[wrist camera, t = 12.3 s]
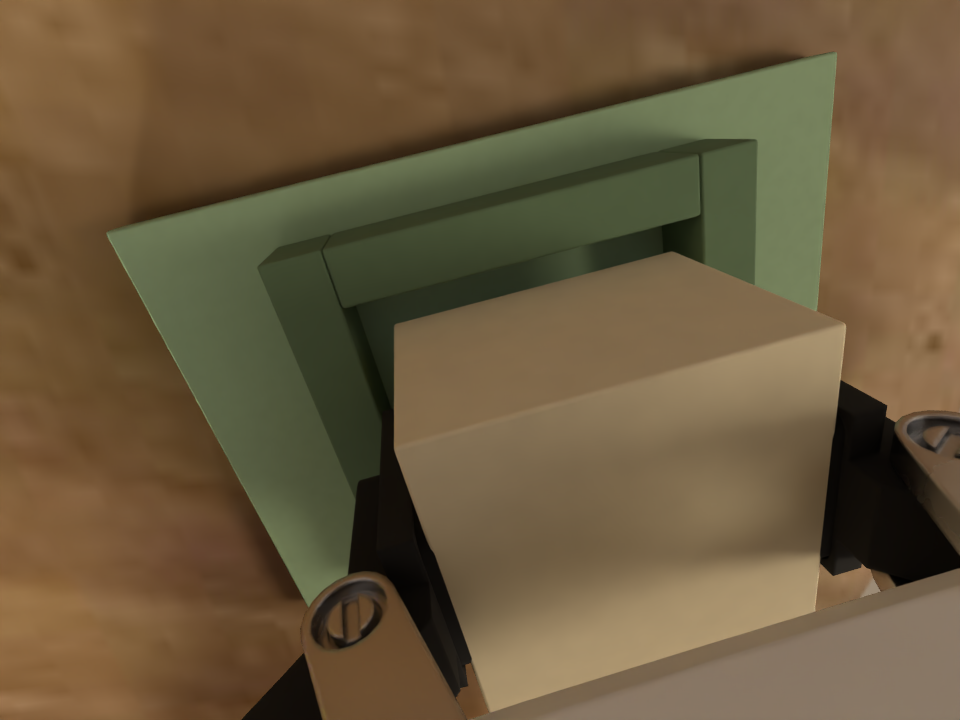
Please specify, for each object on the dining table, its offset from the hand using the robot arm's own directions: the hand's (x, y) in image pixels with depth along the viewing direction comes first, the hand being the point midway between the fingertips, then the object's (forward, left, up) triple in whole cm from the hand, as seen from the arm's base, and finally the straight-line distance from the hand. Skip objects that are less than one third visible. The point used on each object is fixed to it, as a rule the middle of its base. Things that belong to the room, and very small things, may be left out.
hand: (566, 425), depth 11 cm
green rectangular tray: (0, 0, -3) cm, 3 cm away
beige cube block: (0, 0, -1) cm, 1 cm away
